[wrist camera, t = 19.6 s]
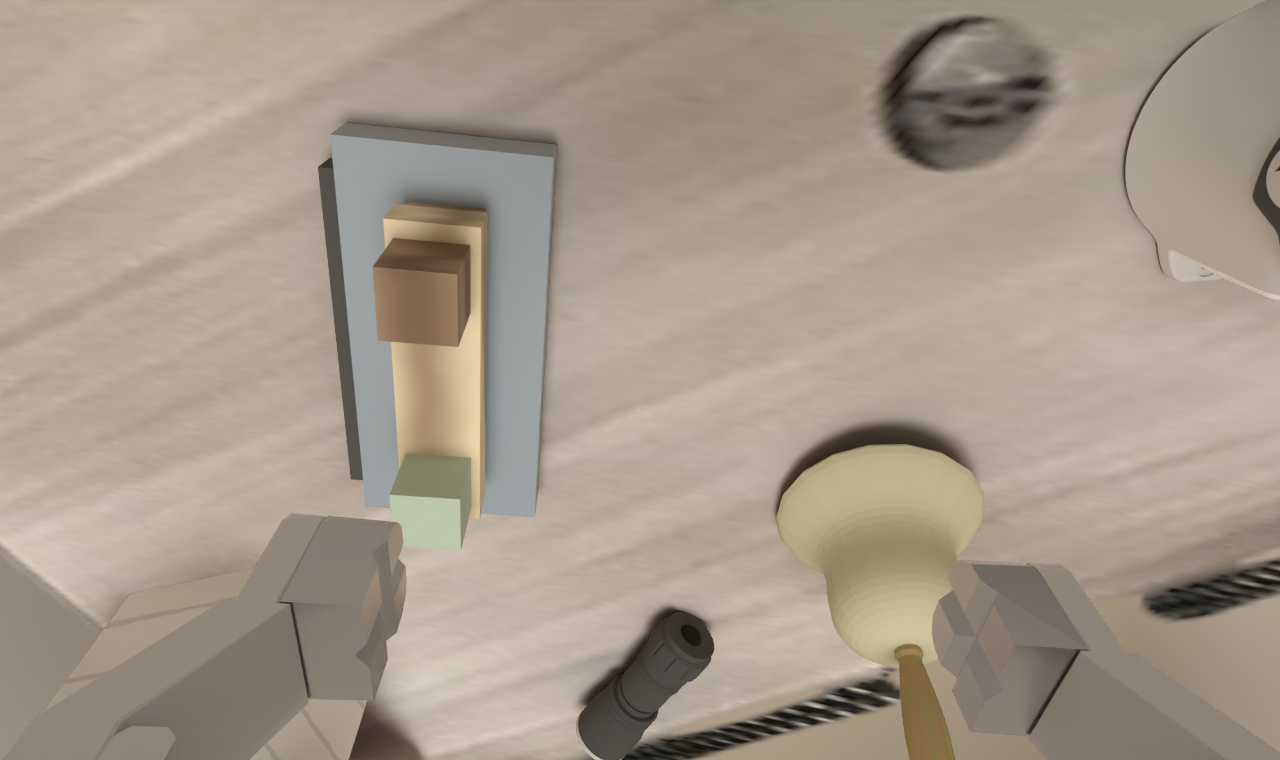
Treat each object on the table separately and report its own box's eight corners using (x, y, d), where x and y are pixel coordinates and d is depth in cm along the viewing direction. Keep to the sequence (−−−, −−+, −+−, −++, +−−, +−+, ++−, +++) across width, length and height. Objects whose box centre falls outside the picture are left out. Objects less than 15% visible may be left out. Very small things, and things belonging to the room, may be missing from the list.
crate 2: (471, 457, 47) (460, 499, 43) (471, 507, 49) (460, 550, 45) (405, 453, 46) (389, 494, 43) (408, 503, 48) (393, 546, 45)
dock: (556, 144, 44) (553, 157, 41) (538, 490, 57) (534, 517, 55) (328, 120, 43) (310, 132, 40) (363, 479, 56) (351, 505, 53)
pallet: (491, 204, 43) (480, 227, 39) (488, 481, 53) (479, 519, 49) (401, 195, 42) (383, 218, 39) (415, 476, 52) (402, 514, 49)
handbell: (1021, 489, 57) (1179, 860, 38) (874, 581, 65) (942, 923, 46) (873, 395, 52) (970, 766, 33) (735, 507, 61) (748, 855, 41)
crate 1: (470, 245, 40) (457, 274, 36) (470, 313, 42) (458, 347, 38) (393, 237, 39) (372, 266, 36) (397, 306, 41) (377, 340, 38)
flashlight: (663, 597, 64) (668, 649, 59) (716, 618, 65) (724, 670, 61) (576, 700, 70) (574, 754, 66) (626, 717, 72) (628, 771, 67)
